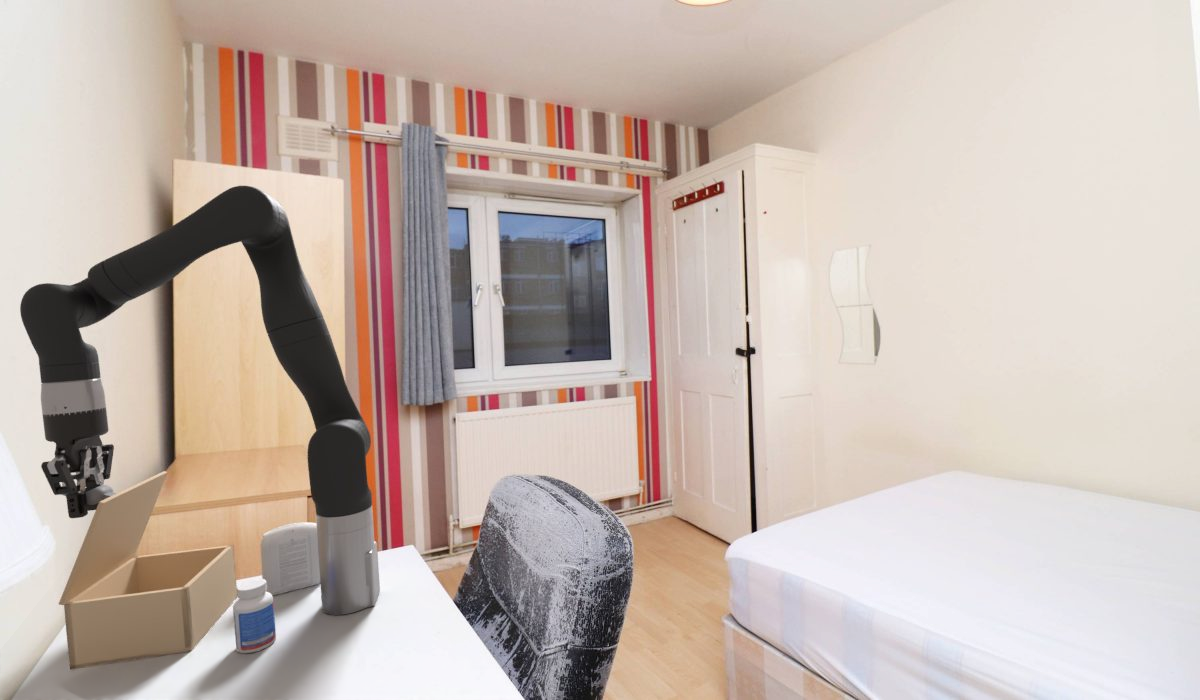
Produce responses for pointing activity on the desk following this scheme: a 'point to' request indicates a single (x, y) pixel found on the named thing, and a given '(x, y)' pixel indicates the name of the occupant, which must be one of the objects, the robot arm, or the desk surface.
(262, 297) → the robot arm
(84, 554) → the carton lid
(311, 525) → the photo printer
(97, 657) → the carton
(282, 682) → the desk surface
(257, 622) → the pill bottle
